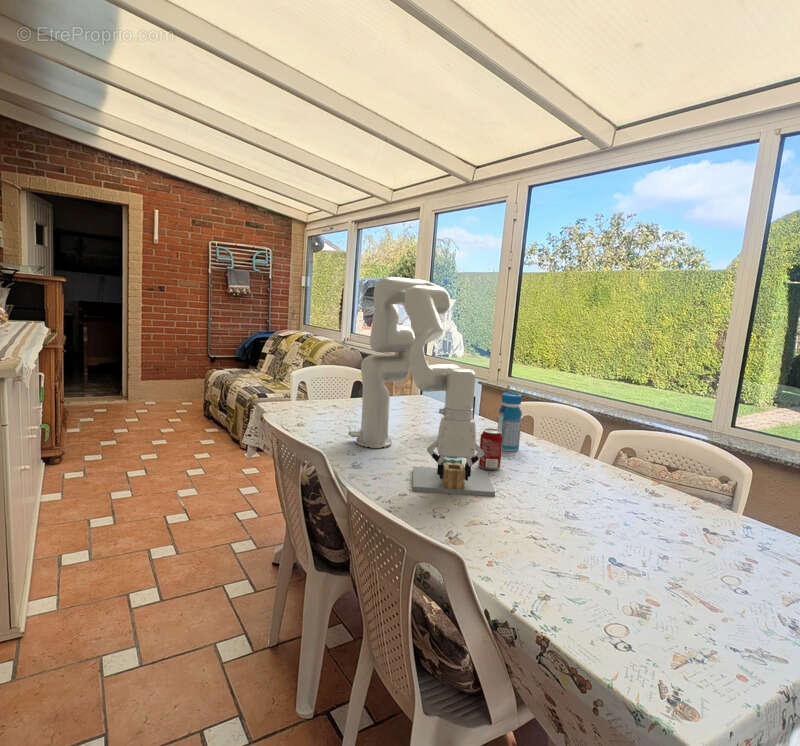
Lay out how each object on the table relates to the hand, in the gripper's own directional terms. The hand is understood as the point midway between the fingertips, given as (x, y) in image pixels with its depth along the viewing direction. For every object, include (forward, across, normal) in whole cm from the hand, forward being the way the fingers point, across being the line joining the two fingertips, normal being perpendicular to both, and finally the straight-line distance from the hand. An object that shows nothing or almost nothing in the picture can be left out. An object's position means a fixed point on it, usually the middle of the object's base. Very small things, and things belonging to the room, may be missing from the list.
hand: (453, 477), depth 129 cm
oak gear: (+2, 0, 0) cm, 2 cm away
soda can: (+3, +13, +20) cm, 24 cm away
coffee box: (+4, +7, +56) cm, 56 cm away
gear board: (+3, 0, +4) cm, 6 cm away
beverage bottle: (+3, +23, +42) cm, 48 cm away
